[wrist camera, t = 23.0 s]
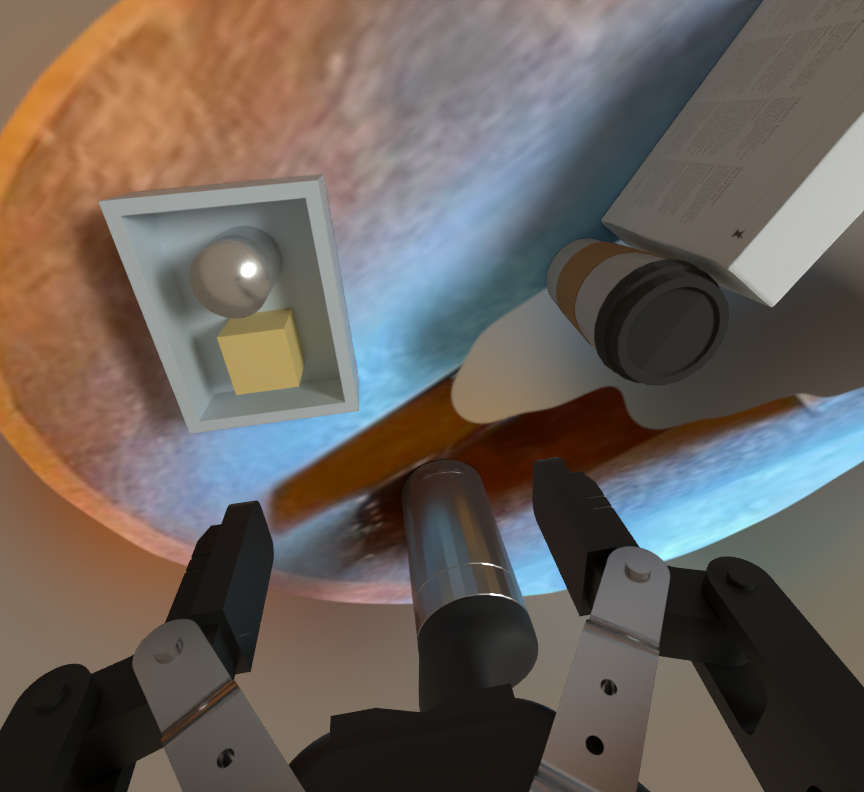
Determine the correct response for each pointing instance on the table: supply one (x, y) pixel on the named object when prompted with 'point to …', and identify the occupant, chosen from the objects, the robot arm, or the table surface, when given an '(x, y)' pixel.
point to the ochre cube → (263, 351)
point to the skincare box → (760, 154)
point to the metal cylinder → (236, 272)
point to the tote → (294, 288)
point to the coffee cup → (639, 309)
